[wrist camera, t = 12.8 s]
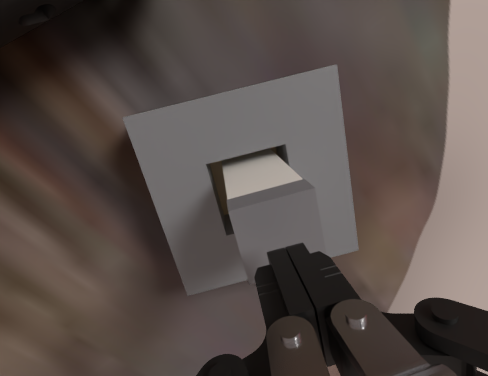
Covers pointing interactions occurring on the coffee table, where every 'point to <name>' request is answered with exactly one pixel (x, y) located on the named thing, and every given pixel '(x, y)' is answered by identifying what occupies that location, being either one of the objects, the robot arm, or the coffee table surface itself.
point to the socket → (236, 144)
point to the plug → (269, 208)
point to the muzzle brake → (28, 16)
